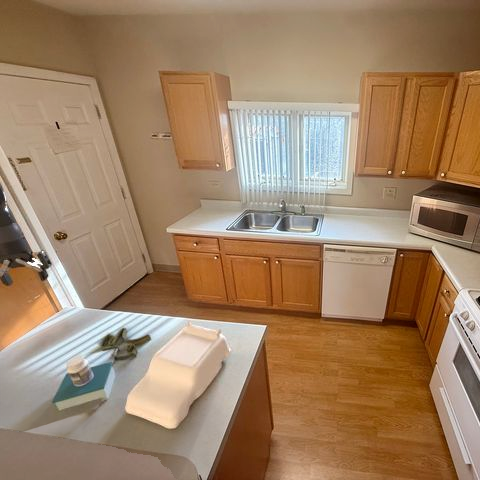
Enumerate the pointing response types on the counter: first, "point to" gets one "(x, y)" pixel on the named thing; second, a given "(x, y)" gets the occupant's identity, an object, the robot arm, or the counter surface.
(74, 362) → the pill bottle
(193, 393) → the white toy car
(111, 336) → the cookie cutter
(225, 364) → the counter surface
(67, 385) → the teal book
